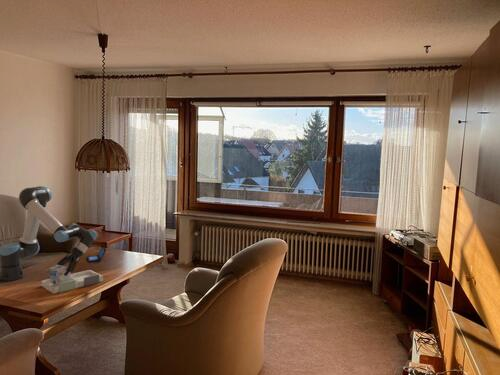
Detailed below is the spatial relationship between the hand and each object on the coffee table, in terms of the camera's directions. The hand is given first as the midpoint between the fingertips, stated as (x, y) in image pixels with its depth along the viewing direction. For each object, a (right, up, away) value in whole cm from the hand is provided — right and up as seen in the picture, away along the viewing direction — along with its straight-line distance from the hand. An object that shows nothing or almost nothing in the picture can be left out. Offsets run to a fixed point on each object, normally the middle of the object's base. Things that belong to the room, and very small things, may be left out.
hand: (56, 277), depth 253 cm
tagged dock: (+7, -6, +8) cm, 13 cm away
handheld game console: (+1, -1, +64) cm, 64 cm away
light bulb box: (+2, -4, +2) cm, 5 cm away
